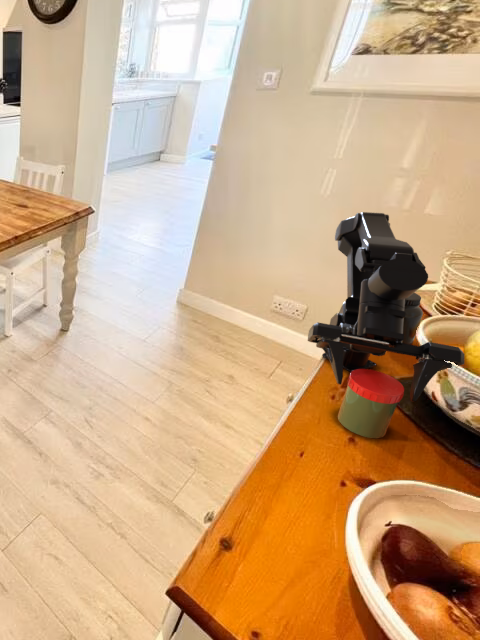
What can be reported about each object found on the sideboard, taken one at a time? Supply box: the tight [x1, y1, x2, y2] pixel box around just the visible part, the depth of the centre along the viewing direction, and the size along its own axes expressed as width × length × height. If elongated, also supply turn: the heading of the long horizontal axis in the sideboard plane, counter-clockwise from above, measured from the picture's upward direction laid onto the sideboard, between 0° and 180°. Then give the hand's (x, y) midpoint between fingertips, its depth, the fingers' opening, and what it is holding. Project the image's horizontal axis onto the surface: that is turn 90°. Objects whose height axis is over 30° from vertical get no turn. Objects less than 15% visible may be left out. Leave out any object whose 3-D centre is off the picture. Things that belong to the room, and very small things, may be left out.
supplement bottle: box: [390, 292, 424, 347], centre depth 90 cm, size 7×7×12 cm
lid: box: [347, 368, 405, 404], centre depth 70 cm, size 7×7×2 cm
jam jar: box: [337, 385, 399, 439], centre depth 71 cm, size 6×6×10 cm
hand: (374, 392), depth 69 cm, fingers open, 9 cm apart
